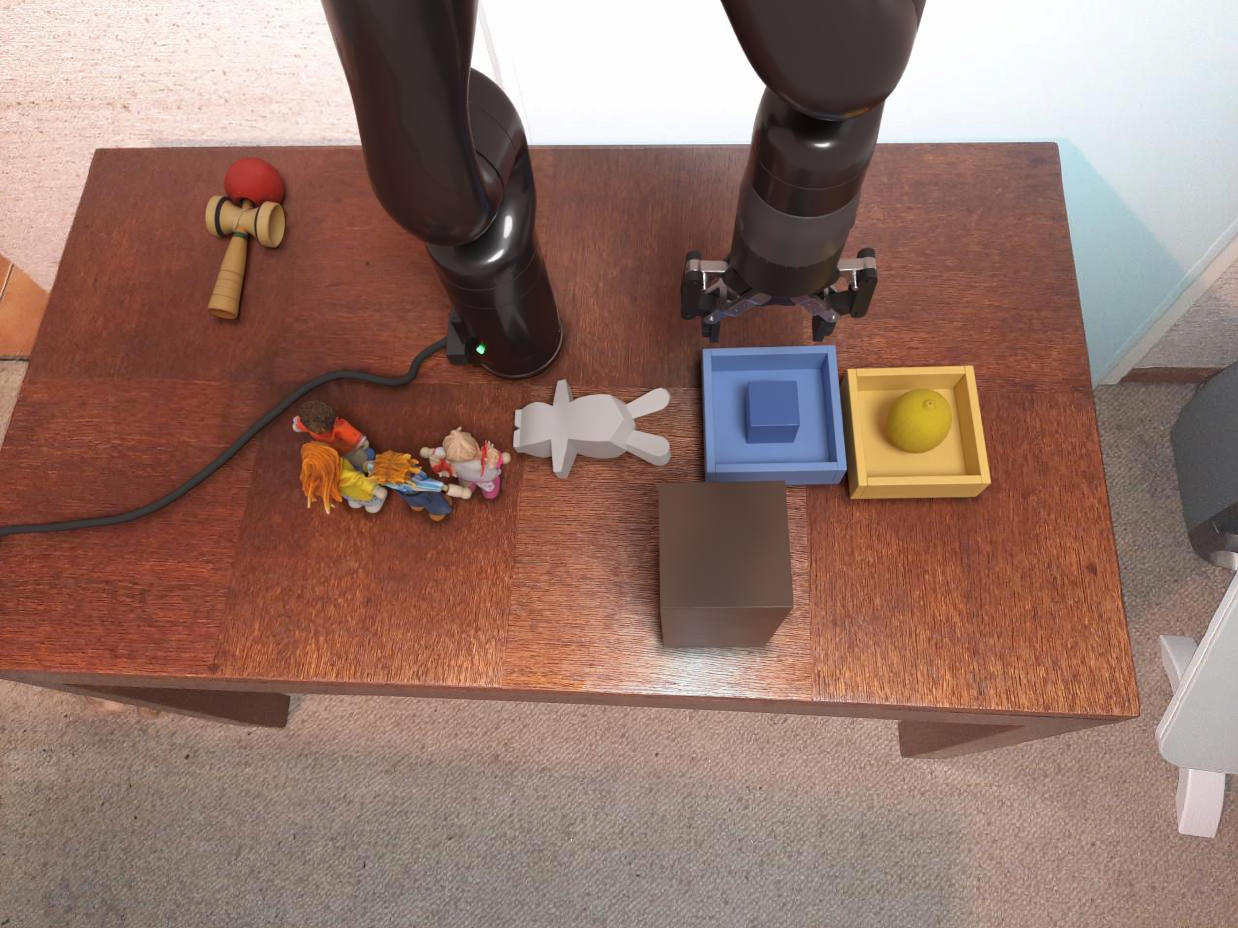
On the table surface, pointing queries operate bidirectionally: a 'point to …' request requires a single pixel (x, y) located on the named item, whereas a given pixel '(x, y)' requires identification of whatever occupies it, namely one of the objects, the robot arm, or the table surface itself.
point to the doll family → (389, 466)
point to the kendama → (243, 225)
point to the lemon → (919, 420)
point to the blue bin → (819, 410)
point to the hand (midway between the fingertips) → (764, 332)
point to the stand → (723, 563)
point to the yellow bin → (900, 473)
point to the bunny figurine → (589, 428)
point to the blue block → (771, 412)
